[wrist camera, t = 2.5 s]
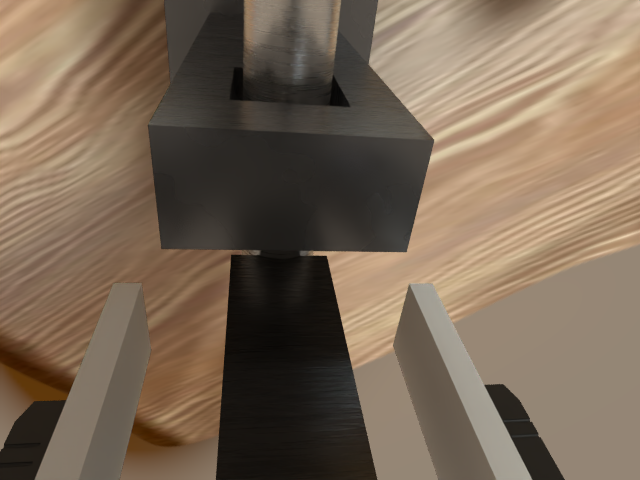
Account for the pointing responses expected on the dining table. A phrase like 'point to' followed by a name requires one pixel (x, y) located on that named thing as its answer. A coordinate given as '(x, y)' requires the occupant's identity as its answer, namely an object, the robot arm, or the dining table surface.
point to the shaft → (288, 296)
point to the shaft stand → (281, 146)
